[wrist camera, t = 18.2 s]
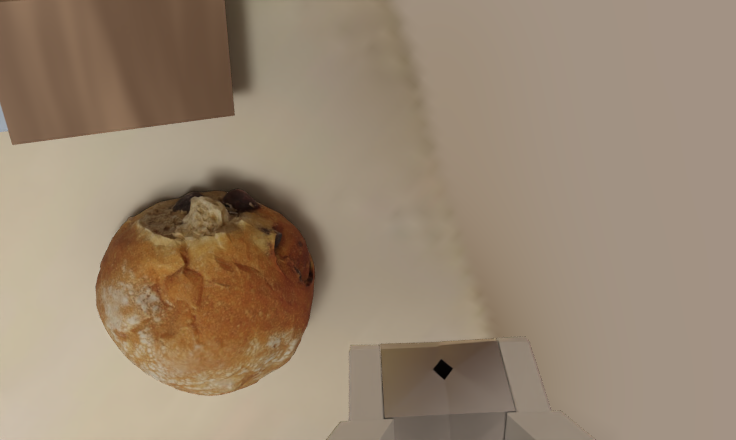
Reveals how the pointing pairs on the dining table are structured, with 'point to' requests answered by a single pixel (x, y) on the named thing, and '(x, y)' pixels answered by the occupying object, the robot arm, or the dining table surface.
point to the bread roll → (207, 291)
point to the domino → (111, 65)
